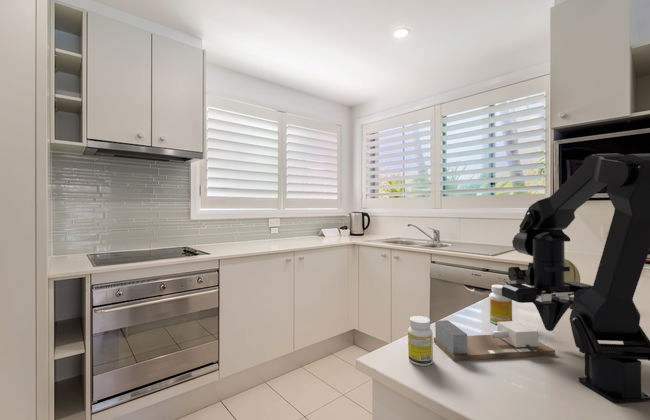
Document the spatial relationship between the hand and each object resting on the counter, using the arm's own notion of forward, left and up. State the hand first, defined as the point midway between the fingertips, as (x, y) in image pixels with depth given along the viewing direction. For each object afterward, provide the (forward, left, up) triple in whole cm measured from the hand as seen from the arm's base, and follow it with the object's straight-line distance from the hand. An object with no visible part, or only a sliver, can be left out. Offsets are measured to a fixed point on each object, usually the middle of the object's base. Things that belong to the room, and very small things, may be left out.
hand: (549, 330), depth 68 cm
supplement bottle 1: (-3, +31, -4) cm, 32 cm away
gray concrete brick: (0, +23, -2) cm, 23 cm away
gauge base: (0, +14, -3) cm, 14 cm away
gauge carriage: (-1, +9, -2) cm, 9 cm away
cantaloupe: (+33, -30, -4) cm, 45 cm away
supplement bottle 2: (+14, +2, -4) cm, 15 cm away
